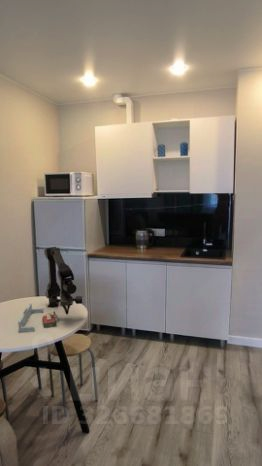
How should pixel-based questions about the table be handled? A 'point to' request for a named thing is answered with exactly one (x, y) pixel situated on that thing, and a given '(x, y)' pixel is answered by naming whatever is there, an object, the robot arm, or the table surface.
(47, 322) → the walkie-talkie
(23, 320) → the mounting bracket
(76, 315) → the table surface
